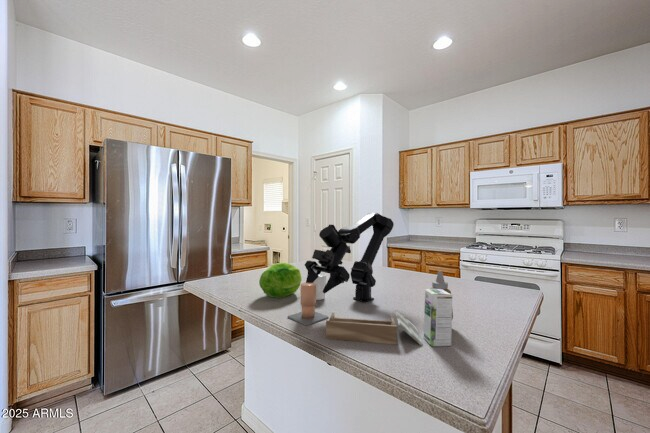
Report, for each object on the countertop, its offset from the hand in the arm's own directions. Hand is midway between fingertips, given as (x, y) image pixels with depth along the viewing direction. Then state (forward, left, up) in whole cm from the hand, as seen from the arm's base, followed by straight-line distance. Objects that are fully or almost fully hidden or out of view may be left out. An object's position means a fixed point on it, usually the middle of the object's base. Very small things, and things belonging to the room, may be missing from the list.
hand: (314, 289), depth 100 cm
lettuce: (-4, -28, -9) cm, 30 cm away
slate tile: (+3, 0, -9) cm, 10 cm away
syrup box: (-14, +38, -9) cm, 42 cm away
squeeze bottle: (-25, +33, -9) cm, 43 cm away
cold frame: (-5, +22, -9) cm, 25 cm away
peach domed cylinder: (+3, 0, -9) cm, 9 cm away
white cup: (-14, -16, -9) cm, 23 cm away
